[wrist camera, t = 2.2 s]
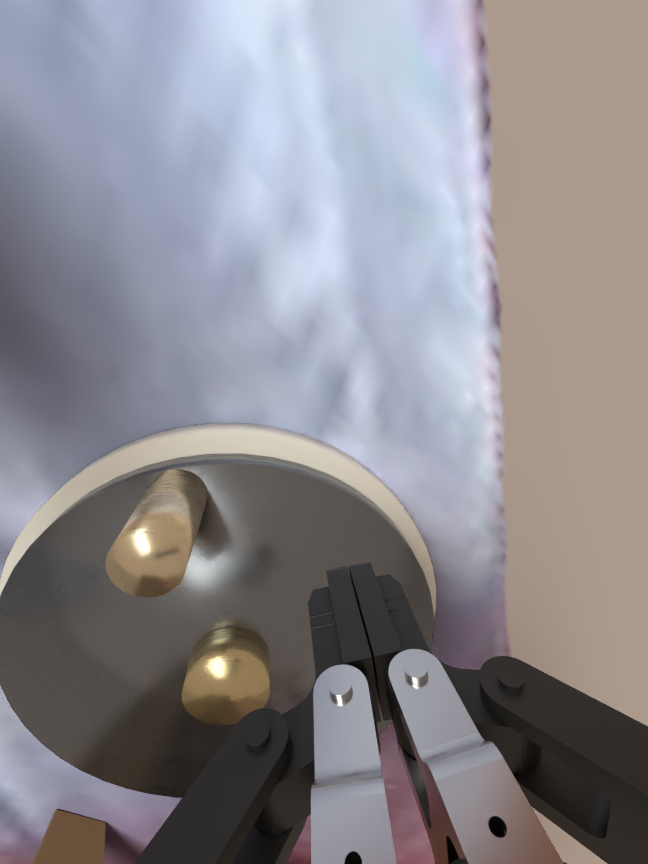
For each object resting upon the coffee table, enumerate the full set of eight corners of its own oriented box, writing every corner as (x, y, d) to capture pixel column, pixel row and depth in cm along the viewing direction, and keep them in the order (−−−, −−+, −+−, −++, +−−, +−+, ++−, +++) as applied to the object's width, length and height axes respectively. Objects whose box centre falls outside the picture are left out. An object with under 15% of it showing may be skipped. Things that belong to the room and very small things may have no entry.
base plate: (-68, 472, 23) (-97, 487, 22) (411, 385, 25) (422, 392, 24) (101, 782, 33) (91, 811, 32) (436, 702, 35) (445, 725, 33)
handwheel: (-76, 504, 21) (-248, 610, 14) (410, 414, 23) (472, 467, 16) (97, 808, 31) (45, 964, 24) (435, 726, 33) (481, 848, 25)
